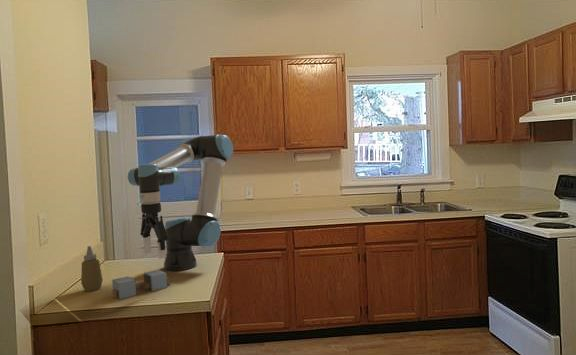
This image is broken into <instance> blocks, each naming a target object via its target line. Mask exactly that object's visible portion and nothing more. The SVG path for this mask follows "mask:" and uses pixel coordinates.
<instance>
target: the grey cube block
mask: <svg viewBox="0 0 576 355" xmlns="http://www.w3.org/2000/svg"><path fill="white" fill-rule="evenodd" d="M166 277H167V272H165V271H162V270H159V269H155V270H151V271H146V272H143V280H144V281H143V282H145V281H146V282H148V283H151V290H150V291H151V292H154V291H159V290H163V289H167V288H168V286H167V279H166Z"/></svg>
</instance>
